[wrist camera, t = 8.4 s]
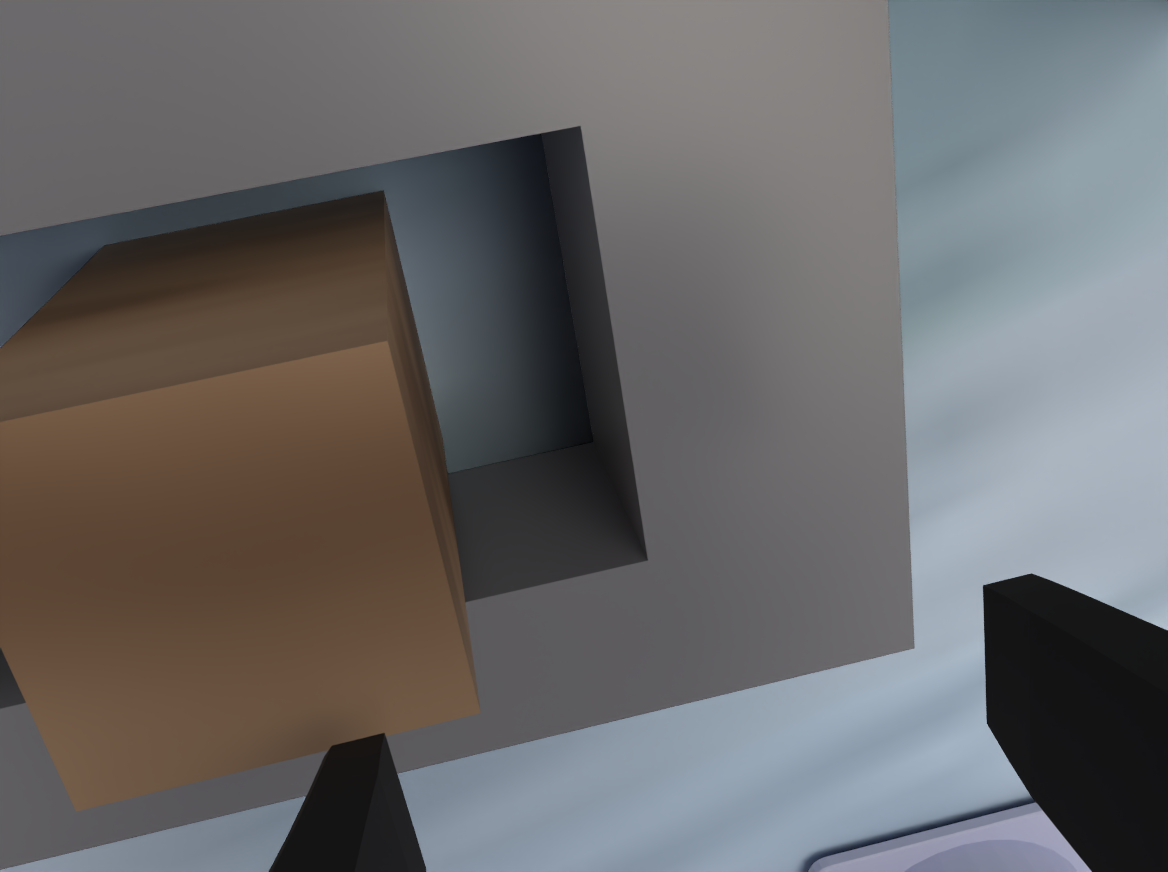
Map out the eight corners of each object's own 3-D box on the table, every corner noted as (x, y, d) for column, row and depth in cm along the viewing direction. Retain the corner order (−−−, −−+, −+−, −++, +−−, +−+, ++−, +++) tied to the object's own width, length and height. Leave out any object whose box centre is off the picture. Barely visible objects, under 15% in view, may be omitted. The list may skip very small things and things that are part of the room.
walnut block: (442, 438, 22) (480, 713, 14) (191, 493, 21) (75, 812, 13) (383, 190, 20) (387, 340, 12) (104, 245, 19) (-95, 441, 11)
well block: (813, 521, 24) (914, 648, 20) (-127, 736, 22) (-257, 931, 18) (760, -137, 19) (880, -172, 14) (-480, 72, 17) (-796, 108, 12)
